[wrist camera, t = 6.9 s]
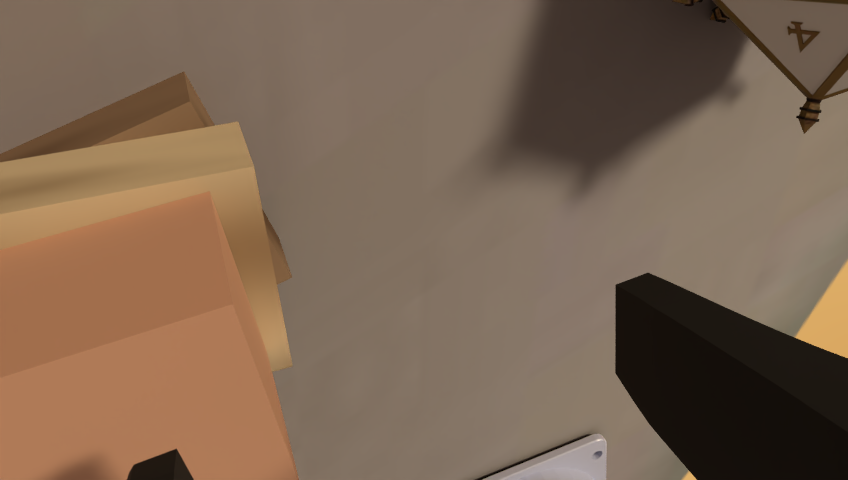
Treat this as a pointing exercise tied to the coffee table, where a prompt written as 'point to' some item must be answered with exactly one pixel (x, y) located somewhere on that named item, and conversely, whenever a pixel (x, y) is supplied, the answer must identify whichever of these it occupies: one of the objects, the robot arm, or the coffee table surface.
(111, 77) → the coffee table surface
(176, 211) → the terracotta block
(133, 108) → the walnut slab
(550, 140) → the coffee table surface
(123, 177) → the oak slab
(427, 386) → the coffee table surface
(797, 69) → the game die
